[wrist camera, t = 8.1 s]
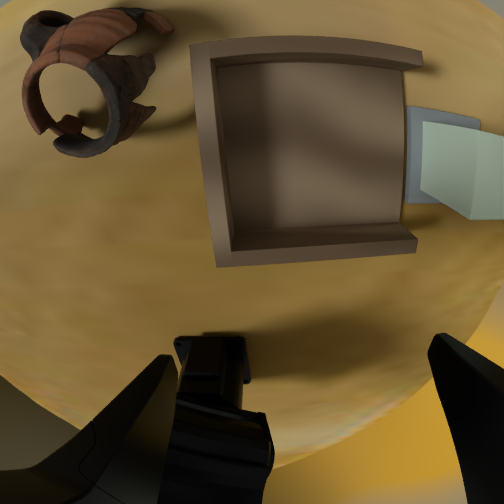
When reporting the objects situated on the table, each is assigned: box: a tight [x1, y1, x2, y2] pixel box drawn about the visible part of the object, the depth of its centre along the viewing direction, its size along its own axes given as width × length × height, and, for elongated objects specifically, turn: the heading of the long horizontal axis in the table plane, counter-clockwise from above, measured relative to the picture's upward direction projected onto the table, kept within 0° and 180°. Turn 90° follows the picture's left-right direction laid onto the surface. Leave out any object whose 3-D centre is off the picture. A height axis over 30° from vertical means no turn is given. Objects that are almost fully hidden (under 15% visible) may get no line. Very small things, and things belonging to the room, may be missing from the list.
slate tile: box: [404, 106, 480, 204], centre depth 17 cm, size 7×7×1 cm
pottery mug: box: [20, 7, 174, 158], centre depth 12 cm, size 12×10×8 cm
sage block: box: [420, 121, 504, 220], centre depth 14 cm, size 5×5×6 cm
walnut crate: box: [189, 36, 423, 268], centre depth 16 cm, size 13×13×3 cm
